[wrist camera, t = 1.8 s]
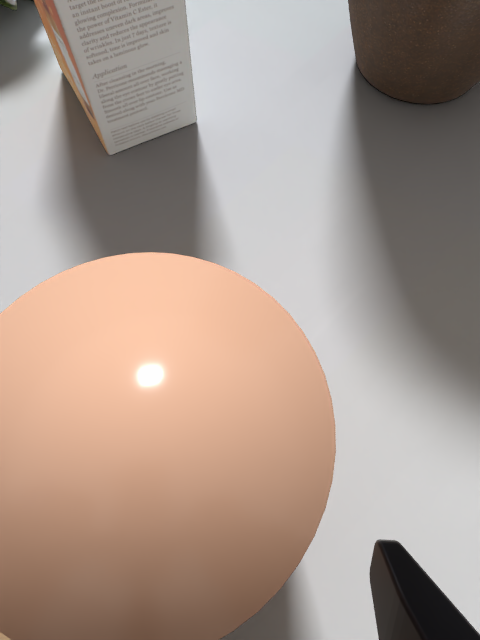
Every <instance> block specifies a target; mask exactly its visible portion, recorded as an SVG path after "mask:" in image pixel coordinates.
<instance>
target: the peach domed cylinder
mask: <svg viewBox="0 0 480 640" xmlns="http://www.w3.org/2000/svg"><path fill="white" fill-rule="evenodd" d="M335 453H336V445H335V420H334V413H333V406H332V399H331V396H330V392H329V388H328V385H327V381H326V378H325V374H324V372H323V370H322V367H321V365H320V363H319V360H318V358H317V356H316V353H315V351H314V350H313V348H312V346H311V344H310V343H309V341H308V339H307V338H306V336H305V334H304V332H303V331H302V330H301V328H300V327H299V326H298V325H297V323H296V322H295V321H294V319H293V318H292V317H291V316H290V314H289V313H288V312H287V311H286V310H285V309H284V308H283V307H282V306H281V305H280V304H279V303H278V302H277V301H276V300H275V299H274V298H273V297H272V296H270V295H269V294H268V293H266V292H265V291H264V290H263V289H261V288H260V287H259V286H257V285H256V284H255V283H253V282H251V281H250V280H248V279H246V278H245V277H243V276H241V275H239V274H238V273H236V272H234V271H232V270H229V269H227V268H225V267H222V266H220V265H218V264H215V263H212V262H209V261H205V260H202V259H199V258H195V257H190V256H184V255H179V254H173V253H156V252H145V253H127V254H121V255H115V256H109V257H104V258H101V259H97V260H94V261H90V262H87V263H83V264H81V265H78V266H76V267H73V268H71V269H68V270H66V271H63V272H61V273H59V274H57V275H55V276H53V277H51V278H49V279H48V280H46V281H44V282H42V283H40V284H39V285H37V286H36V287H34V288H33V289H31V290H30V291H28V292H27V293H25V294H24V295H22V296H21V297H19V298H18V299H17V300H16V301H15V302H13V303H12V304H11V305H10V306H9V307H8V308H6V309H5V310H4V311H3V312H2V313H0V632H1V633H2V634H4V635H5V636H7V637H8V638H10V639H11V640H219V639H221V638H222V637H224V636H226V635H228V634H229V633H231V632H233V631H234V630H235V629H237V628H238V627H239V626H240V625H242V624H243V623H244V622H246V621H247V620H248V619H249V618H251V617H252V616H253V615H255V614H256V613H257V612H258V611H259V610H260V609H261V608H262V607H263V606H264V605H265V604H266V603H267V602H268V601H269V600H270V599H271V598H272V597H273V596H274V595H275V594H276V593H277V592H278V591H279V590H280V589H281V587H282V586H283V585H284V583H285V582H286V581H287V579H288V578H289V577H290V575H291V574H292V573H293V571H294V570H295V569H296V567H297V566H298V564H299V563H300V561H301V559H302V558H303V556H304V554H305V552H306V550H307V549H308V547H309V545H310V543H311V541H312V540H313V538H314V536H315V533H316V531H317V528H318V526H319V523H320V521H321V518H322V515H323V513H324V510H325V508H326V504H327V500H328V496H329V492H330V488H331V484H332V479H333V470H334V462H335Z"/></svg>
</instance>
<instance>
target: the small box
mask: <svg viewBox="0 0 480 640" xmlns="http://www.w3.org/2000/svg"><path fill="white" fill-rule="evenodd" d="M34 2H35V4H36V7H37V10H38V12H39V15H40V17H41V20H42V22H43V25H44V27H45V30H46V33H47V35H48V38H49V40H50V43H51V45H52V48H53V50H54V53H55V55H56V58H57V60H58V63H59V65H60V68H61V70H62V71H63V73H64V75H65V76H66V78H67V80H68V81H69V83H70V85H71V87H72V88H73V90H74V92H75V94H76V95H77V97H78V99H79V101H80V103H81V105H82V107H83V109H84V111H85V113H86V115H87V117H88V118H89V120H90V122H91V124H92V126H93V128H94V130H95V132H96V133H97V135H98V137H99V139H100V141H101V143H102V145H103V147H104V149H105V150H106V152H107V154H108V155H113V154H115V153H118V152H120V151H123V150H125V149H128V148H130V147H133V146H135V145H138V144H140V143H143V142H145V141H148V140H151V139H153V138H156V137H159V136H161V135H164V134H166V133H169V132H172V131H174V130H177V129H179V128H182V127H185V126H187V125H190V124H192V123H194V122H196V120H197V116H196V107H195V96H194V86H193V77H192V66H191V56H190V46H189V36H188V26H187V15H186V5H185V0H34Z"/></svg>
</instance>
